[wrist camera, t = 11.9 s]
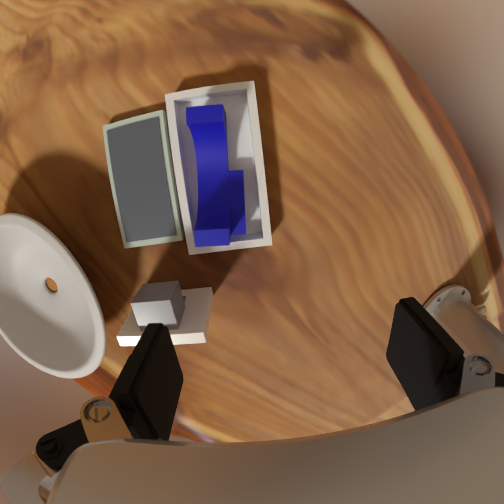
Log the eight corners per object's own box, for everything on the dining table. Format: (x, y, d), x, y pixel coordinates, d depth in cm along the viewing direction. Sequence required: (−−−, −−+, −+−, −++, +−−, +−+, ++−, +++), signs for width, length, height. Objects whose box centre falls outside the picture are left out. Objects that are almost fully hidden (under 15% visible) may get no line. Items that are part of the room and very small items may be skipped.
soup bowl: (16, 328, 35) (-3, 349, 28) (-5, 194, 27) (-35, 205, 20) (128, 367, 37) (116, 398, 31) (125, 212, 29) (99, 228, 23)
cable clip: (245, 226, 30) (247, 244, 24) (203, 228, 30) (195, 247, 24) (240, 112, 26) (241, 102, 20) (196, 116, 26) (185, 107, 20)
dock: (252, 86, 25) (254, 80, 23) (269, 237, 31) (272, 244, 29) (170, 98, 25) (165, 94, 23) (192, 247, 31) (189, 255, 29)
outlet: (206, 261, 32) (196, 302, 23) (213, 295, 33) (206, 342, 25) (134, 270, 32) (105, 308, 23) (144, 301, 33) (120, 345, 25)
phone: (165, 111, 26) (162, 109, 24) (184, 237, 30) (182, 240, 29) (107, 126, 26) (102, 126, 24) (128, 245, 30) (124, 248, 29)
